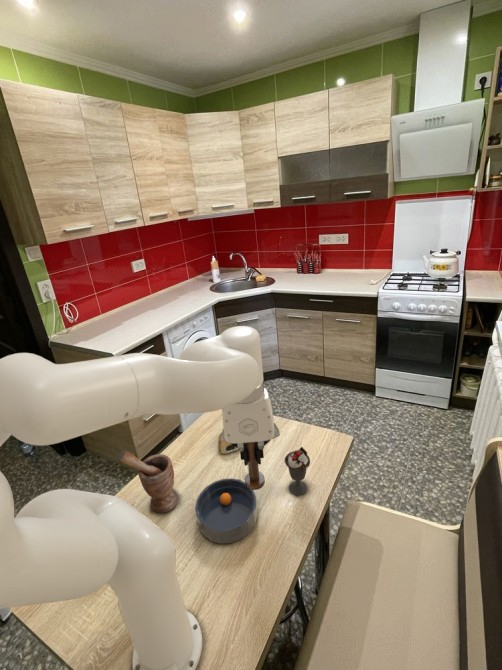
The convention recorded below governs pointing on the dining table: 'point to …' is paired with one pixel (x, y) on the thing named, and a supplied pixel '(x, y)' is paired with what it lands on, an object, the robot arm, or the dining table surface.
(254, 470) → the brown flanged wooden cylinder
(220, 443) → the pastry
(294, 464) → the sundae
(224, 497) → the orange ball
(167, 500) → the mortar and pestle
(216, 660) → the dining table surface
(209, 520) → the bowl
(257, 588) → the dining table surface
